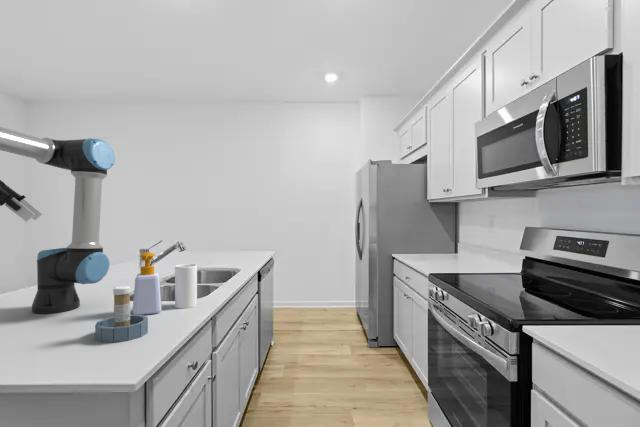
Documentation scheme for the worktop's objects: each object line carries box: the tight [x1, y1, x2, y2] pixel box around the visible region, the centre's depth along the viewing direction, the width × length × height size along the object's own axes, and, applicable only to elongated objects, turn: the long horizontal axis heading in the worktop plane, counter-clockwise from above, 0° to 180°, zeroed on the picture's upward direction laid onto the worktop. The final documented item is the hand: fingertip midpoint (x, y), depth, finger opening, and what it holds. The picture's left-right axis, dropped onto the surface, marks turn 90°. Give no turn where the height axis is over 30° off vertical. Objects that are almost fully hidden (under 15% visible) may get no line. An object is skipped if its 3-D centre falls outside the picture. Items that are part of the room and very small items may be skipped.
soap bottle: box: [132, 251, 162, 316], centre depth 138 cm, size 10×14×22 cm
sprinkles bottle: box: [112, 285, 131, 327], centre depth 115 cm, size 5×5×14 cm
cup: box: [174, 263, 198, 309], centre depth 149 cm, size 8×8×16 cm
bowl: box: [94, 314, 149, 343], centre depth 115 cm, size 14×14×4 cm
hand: (35, 217), depth 109 cm, fingers open, 13 cm apart
